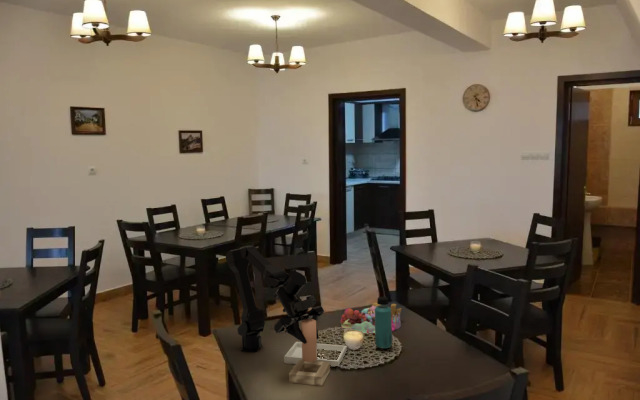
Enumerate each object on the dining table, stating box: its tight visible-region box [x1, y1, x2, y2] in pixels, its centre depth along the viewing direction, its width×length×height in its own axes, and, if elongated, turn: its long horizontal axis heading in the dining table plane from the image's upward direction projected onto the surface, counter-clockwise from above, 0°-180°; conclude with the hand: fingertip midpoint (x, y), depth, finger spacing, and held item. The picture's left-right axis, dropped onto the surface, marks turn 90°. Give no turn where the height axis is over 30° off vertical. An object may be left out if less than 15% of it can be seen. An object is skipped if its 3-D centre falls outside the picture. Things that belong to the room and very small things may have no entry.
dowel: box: [300, 319, 318, 362], centre depth 170 cm, size 5×5×13 cm
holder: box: [288, 360, 331, 387], centre depth 171 cm, size 11×11×3 cm
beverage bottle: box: [374, 296, 393, 349], centre depth 192 cm, size 6×7×20 cm
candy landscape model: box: [340, 301, 402, 333], centre depth 218 cm, size 25×24×9 cm
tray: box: [283, 341, 348, 367], centre depth 186 cm, size 20×14×2 cm
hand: (311, 340), depth 169 cm, fingers closed on dowel, 5 cm apart
